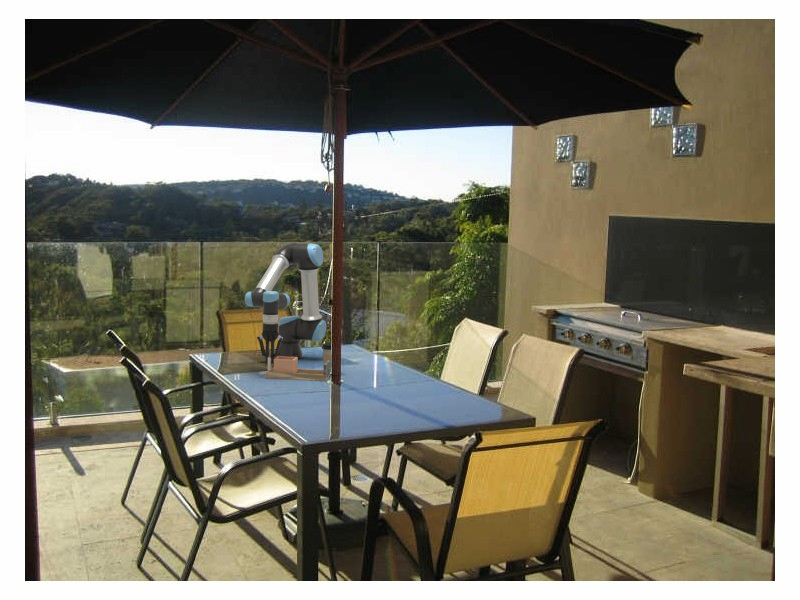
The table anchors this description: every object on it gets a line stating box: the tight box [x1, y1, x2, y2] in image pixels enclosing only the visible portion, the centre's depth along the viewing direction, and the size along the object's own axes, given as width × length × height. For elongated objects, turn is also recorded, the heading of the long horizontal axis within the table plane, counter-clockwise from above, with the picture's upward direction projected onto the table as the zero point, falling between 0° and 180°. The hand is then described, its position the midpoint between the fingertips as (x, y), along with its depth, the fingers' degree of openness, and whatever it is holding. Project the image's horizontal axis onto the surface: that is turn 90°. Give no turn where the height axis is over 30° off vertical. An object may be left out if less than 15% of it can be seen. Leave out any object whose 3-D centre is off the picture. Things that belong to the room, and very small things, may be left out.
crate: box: [273, 356, 299, 373], centre depth 407 cm, size 9×10×8 cm
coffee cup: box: [321, 342, 332, 372], centre depth 418 cm, size 9×9×15 cm
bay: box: [264, 360, 331, 382], centre depth 406 cm, size 12×30×8 cm, turn 85°
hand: (269, 370), depth 408 cm, fingers closed
